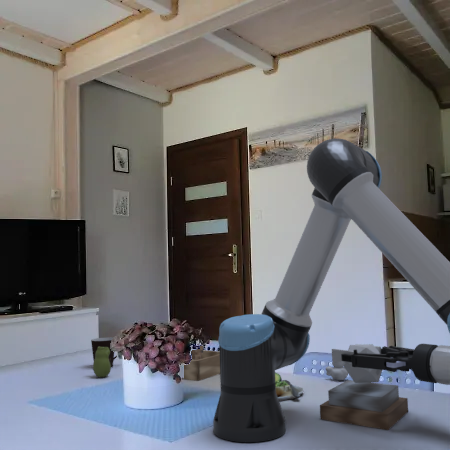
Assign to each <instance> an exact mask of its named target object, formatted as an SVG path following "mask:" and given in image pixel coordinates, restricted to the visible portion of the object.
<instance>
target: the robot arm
mask: <svg viewBox="0 0 450 450" xmlns="http://www.w3.org/2000/svg"><path fill="white" fill-rule="evenodd" d="M306 173H307V178H308V179H309V181H310V183H311V185H312V186H313V187H314V188H313V191H312V193H311V198H312V200H313V203H314V206H313V209H312V211H311V213H310V215H309V218H308V220H307V223H306V225H305V227H304V230H303V232H302V235H301V237H300V239H299V241H298V243H297V245H296V246H297V247H296V248H295V251H294V253H293V256H292V258H291V260H290V263H289V265H288V267H287V268H286V269H287V270H286V272H285V274H284V277H283V279H282V281H281V284H280V285H279V288H278V291H277V293H276V295H275V298H273V299H271V300H268V301H266V303H265V305H264V307H263V310H262V312H261V314H259V313H258V314H257V313H253V314H252V313H250V314H248V313H247V314H243V315H237V316H232V317H229V318H227V319H225V320H223V321H222V322H221V323H220V325H219V329H218V330H219V331H218V332H219V334H218V335H219V336H218V341H217V342H218V345H219V346H218V347H219V349H218V351H219V352H220V374H219V378H220V379H219V381H220V382H219V383H220V396H219V399H218V402H217V404H216V409H215V412H214V416H213V420H212V426H213V428H212V430H213V434H214V435H215V436H216V437H218V438H221V439H222V440H226V441H231V442H236V443H237V442H238V443H259V442H267V441H271V440H274V439H277V438H280V437H281V436H283V435H284V434H285V433H286V429H287V428H286V426H287V424H286V417H285V415H284V412H283V408H282V405H281V404H280V402H279V400H278V397H277V394H276V383H275V373H276V371H277V370H279V369H282V368H285V367H289V366H291V365H293V364H296V363H297V362H298V361H300V359H302V357H304V356H305V354H306V353H307V351H308V348H309V346H310V343H311V342H310V341H311V336H310V329H311V328H312V325H313V321H312V319H311V315H310V313H311V311H312V308H313V306H314V304H315V302H316V299H317V297H318V295H319V292H320V290H321V288H322V286H323V284H324V281H325V279H326V276H327V274H328V272H329V270H330V268H331V266H332V263H333V261H334V259H335V256H336V254H337V252H338V249H339V247H340V246H341V245H340V244H341V242H342V240H343V238H344V236H345V233H346V231H347V229H348V226H349V224H350V222H351V220H352V221H353V222H354V224H355V225H356V226H357V227H358V228H359V229H360V230H361V231H362V233H364V234H365V235H366V237H367V238H368V239H369V240H370V241H371V243H373V244H374V245H375V246H376V247H377V249H378V250H379V251H380V252H381V253H382V254H383V255H384V257H385V258H386V259H387V260H388V261H389V262H390V263H391V265H392V266H394V268H395V269H396V270H397V271H398V273H400V274H401V275H402V276H403V277H404V278H405V280H406V281H407V282H408V283H409V284H410V286H412V288H413V289H414V290H415V291H416V292H417V293H418V294H419V295H420V297H422V298H423V300H424V301H425V302H426V303H427V304H428V305H429V306H430V307H431V309H432V310H433V311H434V312H435V313H436V314H437V315H438V317H439V318H440V319H441V320H442V321H443V322H444V324H445V325H446V326H447V329H448V330H447V331H448V332H449V334H450V261H449V260H448V259H447V258H446V256H444V255H443V253H441V251H440V250H439V249H438V248H437V247H436V246H435V245H434V243H432V242H431V241H430V240H429V239H428V238H427V237H426V235H424V234H423V233H422V232H421V231H420V230H419V229H418V228H417V226H416V225H415V224H413V222H412V221H411V220H410V219H409V218H408V217H407V216H406V215H405V214H404V213H403V212H402V211H401V210H400V209H399V208H398V207H397V206H396V205H395V204H394V202H392V200H390V199H389V197H388V196H387V195H386V194H385V193H384V192H383V191H382V190H381V189H380V187H381V185H382V178H383V173H382V168H381V166H380V164H379V162H378V161H377V159H376V157H374V156H373V153H370V152H369V151H367V150H365V149H363V148H361V147H360V146H358V145H356V144H355V143H353V142H351V141H349V140H347V139H343V138H339V137H337V138H329V139H325V140H324V141H321V142H320V143H318V144H317V145H316V146H315V147H314V148H313V149H312V150H311V152H310V154H309V156H308V159H307V163H306ZM354 345H363V344H362V343H361V344H360V343H355V344H354ZM374 347H375V348H376V349H377V350H378V352H379V353H380V354H368V353H358V352H357V350H354V351H348V349H341V348H331V359H332V362H333V361H335V362H341V363H348V364H352V367H359V368H369V369H379V370H382V371H388V372H392V373H396V372H398V371H400V372H410V370H411V371H412V373H413V375H414V377H415V378H416V379H417V380H419V381H420V382H426V383H431V384H440V385H444V386H445V385H446V386H450V345H443V344H440V345H437V344H430V343H419V344H418V345H416V346H415V347H414V348H409V347H408V348H407V347H401V346H395V345H389V346H379V345H374Z"/></svg>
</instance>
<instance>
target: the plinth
mask: <svg viewBox="0 0 450 450" xmlns="http://www.w3.org/2000/svg"><path fill="white" fill-rule="evenodd" d="M327 391H328V394H327V395H328V400H326V401H324V402H322V403H321V404H320V405H319V415H320V416H319V417H320V420H324V421H330V422H337V423H343V424H350V425H353V426H354V425H355V426H362V427H368V428H373V429H380V430H385V431H389V430H390V429H391V428H393V426H395V425H396V424H397V423H398V422H399V421H400V420H401V419H402V418H403V417H405V415H407V413H408V412H409V404H408V403H409V400H408V397H400V393H399V385H396V384H387V383H380V382H368V383H355V382H354V381H353V379H351V380H349V379H348V380H345V381H344V382H342V383H340V384H338V385H336V386H335V387H333V388H330V389H329V390H327Z"/></svg>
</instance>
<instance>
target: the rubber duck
mask: <svg viewBox="0 0 450 450" xmlns="http://www.w3.org/2000/svg"><path fill="white" fill-rule="evenodd" d="M331 363H332V364H331V365H332V366H325V371H326V376H328V377H330V376H331V378H332V379H333V380H335V381H341V382H342V381H344V380H346V378H347V377H348V376H349V374H348V372H347V371H346V369H345V368H344V366H343V365H344V363H341V362H335V361H332V362H331Z"/></svg>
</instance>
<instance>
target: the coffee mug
mask: <svg viewBox="0 0 450 450" xmlns="http://www.w3.org/2000/svg"><path fill="white" fill-rule="evenodd" d="M113 338H114V337H96V338H92V339H91V341H90V343H91V350H92V359H93V361H94V360H95V353H96V351H97V348H98V347H108V348H109V350H110V354H109V357H108V358H109V362H110V365H111V367H112V368H113V367H114V361H115V359H116V358H118V357H117V355H115V351H114V352H113V351H111V349H110V343H111V340H112V339H113Z"/></svg>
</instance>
